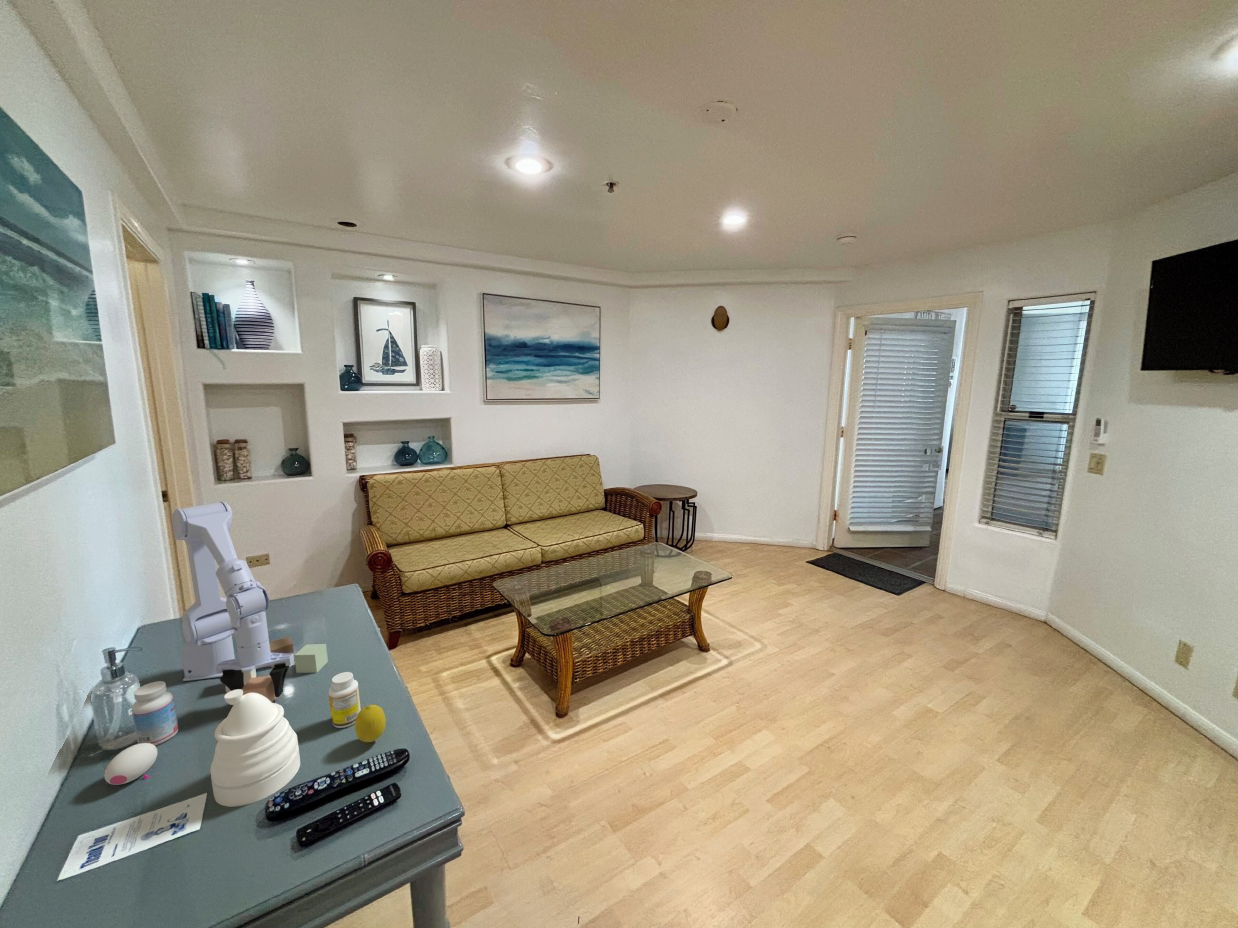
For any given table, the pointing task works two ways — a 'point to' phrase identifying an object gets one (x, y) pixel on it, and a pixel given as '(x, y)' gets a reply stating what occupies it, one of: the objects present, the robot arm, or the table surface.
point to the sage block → (311, 658)
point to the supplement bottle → (344, 700)
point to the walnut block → (282, 646)
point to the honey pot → (252, 751)
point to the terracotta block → (260, 687)
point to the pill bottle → (154, 714)
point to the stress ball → (131, 764)
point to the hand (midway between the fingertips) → (260, 696)
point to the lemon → (370, 723)
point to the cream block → (245, 678)
